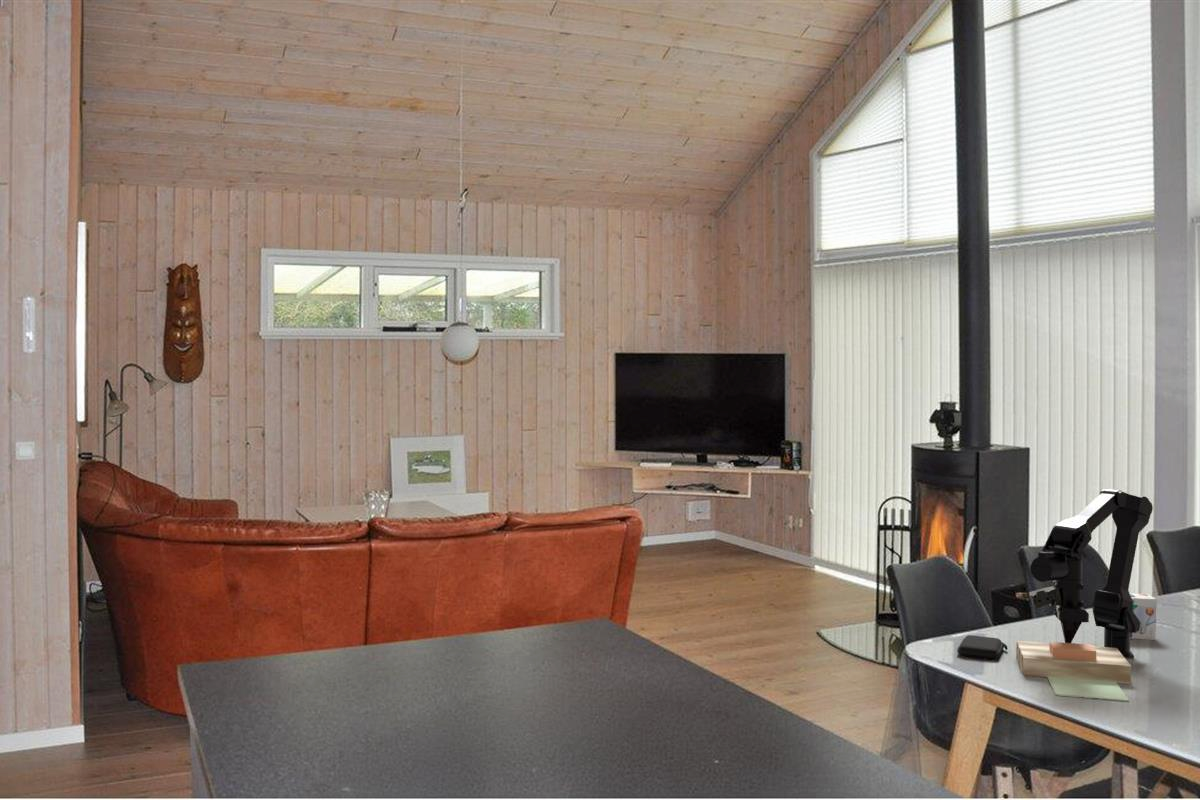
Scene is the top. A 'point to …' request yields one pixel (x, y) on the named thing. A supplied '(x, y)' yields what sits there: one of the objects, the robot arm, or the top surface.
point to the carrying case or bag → (981, 647)
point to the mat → (1087, 688)
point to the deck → (1072, 663)
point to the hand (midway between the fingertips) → (1067, 643)
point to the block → (1072, 650)
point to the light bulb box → (1144, 616)
